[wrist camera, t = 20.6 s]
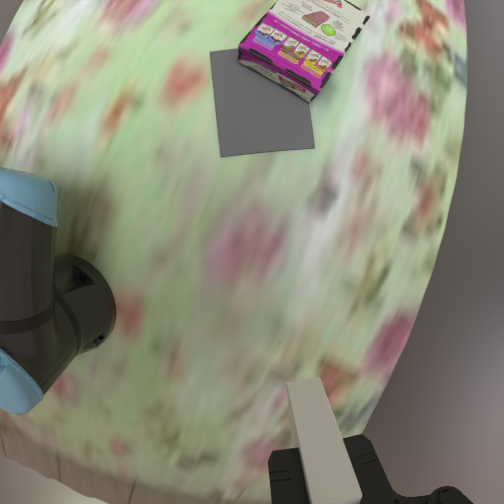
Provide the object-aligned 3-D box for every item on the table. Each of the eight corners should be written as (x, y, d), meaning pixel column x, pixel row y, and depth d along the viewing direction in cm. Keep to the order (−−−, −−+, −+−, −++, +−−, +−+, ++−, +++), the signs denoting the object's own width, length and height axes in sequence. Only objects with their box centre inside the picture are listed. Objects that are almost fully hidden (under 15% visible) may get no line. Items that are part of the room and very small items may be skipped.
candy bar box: (309, 105, 35) (360, 31, 33) (320, 92, 30) (373, 15, 28) (235, 62, 33) (295, -7, 32) (235, 44, 28) (302, -26, 27)
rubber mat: (221, 157, 37) (220, 156, 37) (210, 53, 34) (209, 51, 33) (313, 148, 37) (314, 147, 37) (298, 47, 34) (299, 45, 33)
